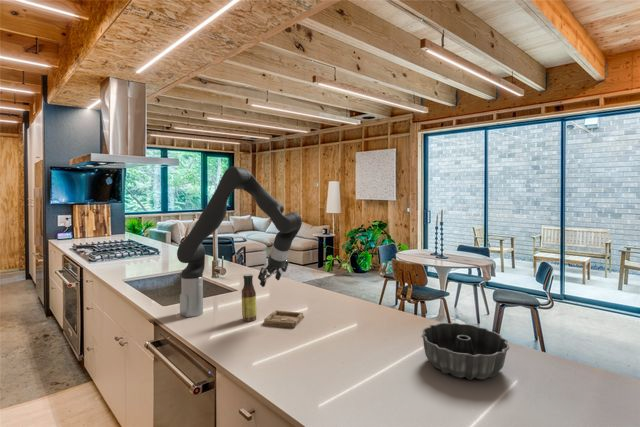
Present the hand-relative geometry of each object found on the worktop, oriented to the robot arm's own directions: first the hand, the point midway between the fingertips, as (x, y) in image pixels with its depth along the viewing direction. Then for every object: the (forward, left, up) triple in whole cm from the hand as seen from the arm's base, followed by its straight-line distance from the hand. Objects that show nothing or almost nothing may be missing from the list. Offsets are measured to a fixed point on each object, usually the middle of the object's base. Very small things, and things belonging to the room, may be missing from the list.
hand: (269, 282), depth 161 cm
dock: (+4, -5, -17) cm, 18 cm away
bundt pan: (+14, -79, -17) cm, 82 cm away
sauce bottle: (-5, +8, -17) cm, 20 cm away
